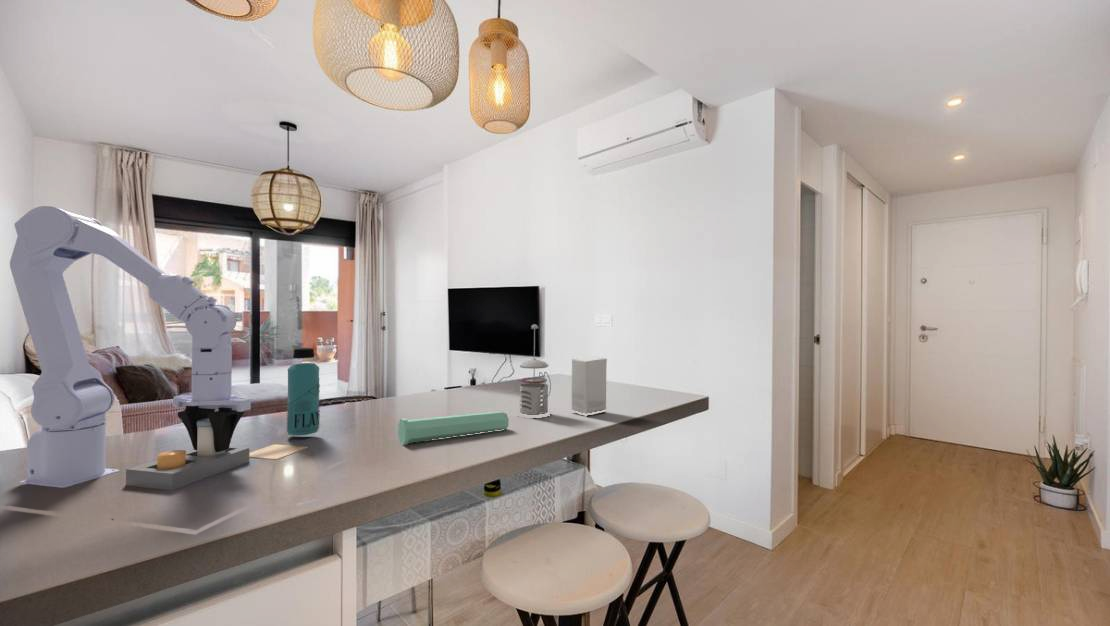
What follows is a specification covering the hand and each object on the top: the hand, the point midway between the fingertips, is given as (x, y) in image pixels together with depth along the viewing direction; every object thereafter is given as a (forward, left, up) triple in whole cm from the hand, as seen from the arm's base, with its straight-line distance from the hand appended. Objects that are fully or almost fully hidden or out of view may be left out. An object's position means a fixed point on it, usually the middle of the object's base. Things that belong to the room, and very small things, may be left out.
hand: (211, 449), depth 83 cm
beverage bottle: (+2, +21, -4) cm, 21 cm away
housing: (0, -3, -3) cm, 5 cm away
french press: (+46, +56, -4) cm, 72 cm away
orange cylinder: (0, -7, -2) cm, 7 cm away
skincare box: (+60, +62, -4) cm, 86 cm away
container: (+34, +31, -4) cm, 46 cm away
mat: (+5, +10, -3) cm, 11 cm away
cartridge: (0, 0, -3) cm, 3 cm away
